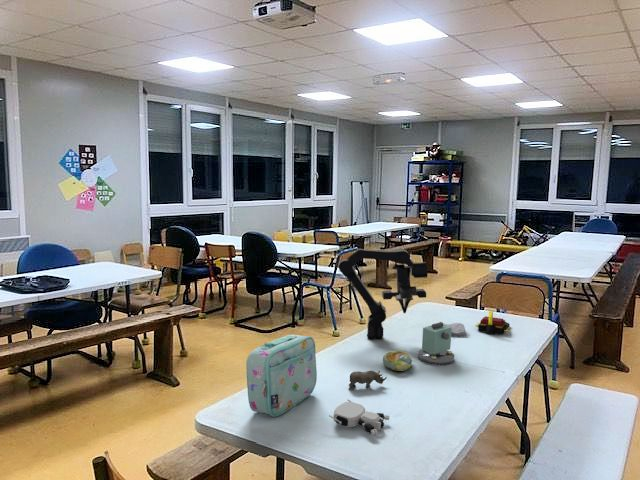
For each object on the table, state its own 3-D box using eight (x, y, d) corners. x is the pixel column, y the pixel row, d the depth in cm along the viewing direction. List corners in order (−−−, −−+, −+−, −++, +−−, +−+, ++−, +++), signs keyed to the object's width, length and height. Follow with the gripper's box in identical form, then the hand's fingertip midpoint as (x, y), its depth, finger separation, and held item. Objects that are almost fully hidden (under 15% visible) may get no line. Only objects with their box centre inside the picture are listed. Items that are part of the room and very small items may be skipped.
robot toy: (390, 425, 149) (345, 410, 156) (392, 411, 148) (346, 396, 155) (374, 444, 138) (326, 427, 145) (376, 429, 137) (327, 412, 144)
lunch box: (270, 425, 146) (270, 354, 143) (243, 416, 151) (242, 347, 149) (319, 392, 168) (320, 330, 166) (294, 386, 174) (294, 325, 171)
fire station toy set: (473, 332, 236) (474, 309, 234) (483, 322, 253) (484, 300, 251) (505, 338, 228) (506, 314, 227) (514, 326, 245) (515, 304, 244)
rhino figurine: (388, 388, 173) (389, 371, 172) (349, 391, 170) (349, 374, 169) (384, 383, 177) (385, 366, 176) (346, 386, 174) (346, 369, 173)
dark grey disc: (410, 357, 202) (410, 350, 201) (433, 350, 210) (433, 343, 210) (438, 368, 191) (439, 361, 190) (461, 360, 199) (461, 353, 199)
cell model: (414, 354, 198) (414, 353, 184) (408, 374, 197) (408, 374, 182) (387, 346, 201) (385, 344, 186) (381, 366, 199) (379, 365, 185)
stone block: (467, 340, 229) (463, 329, 239) (467, 331, 228) (463, 320, 237) (440, 340, 230) (437, 330, 240) (440, 331, 229) (437, 320, 238)
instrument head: (421, 350, 199) (423, 323, 198) (438, 344, 205) (439, 319, 204) (438, 356, 193) (439, 328, 192) (454, 350, 199) (456, 324, 198)
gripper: (384, 283, 214) (385, 319, 216) (428, 281, 214) (429, 317, 216) (381, 278, 225) (382, 312, 227) (423, 276, 225) (424, 310, 227)
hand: (404, 313), depth 224 cm, fingers closed
